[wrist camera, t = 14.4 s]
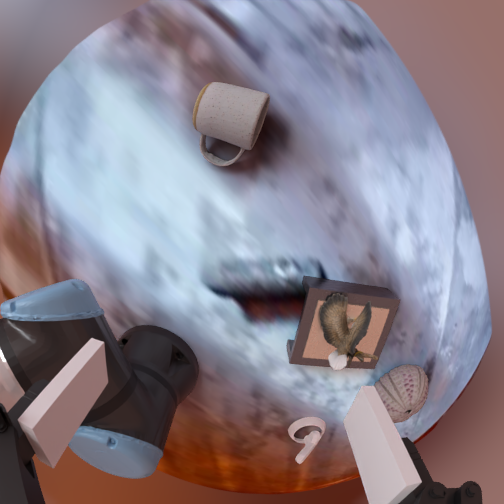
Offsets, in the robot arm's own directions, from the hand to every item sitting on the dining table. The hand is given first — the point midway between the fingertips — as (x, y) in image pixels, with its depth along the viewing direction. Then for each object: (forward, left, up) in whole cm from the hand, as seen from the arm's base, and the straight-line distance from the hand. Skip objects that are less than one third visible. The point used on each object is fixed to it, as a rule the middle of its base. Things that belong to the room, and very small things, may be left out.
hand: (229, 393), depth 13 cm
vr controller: (-34, -18, -29) cm, 48 cm away
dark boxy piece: (-8, -16, -29) cm, 34 cm away
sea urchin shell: (-22, -33, -29) cm, 49 cm away
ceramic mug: (+17, +5, -29) cm, 34 cm away
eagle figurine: (-6, -15, -24) cm, 28 cm away
